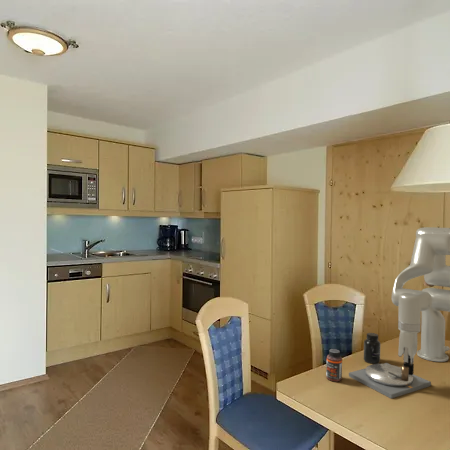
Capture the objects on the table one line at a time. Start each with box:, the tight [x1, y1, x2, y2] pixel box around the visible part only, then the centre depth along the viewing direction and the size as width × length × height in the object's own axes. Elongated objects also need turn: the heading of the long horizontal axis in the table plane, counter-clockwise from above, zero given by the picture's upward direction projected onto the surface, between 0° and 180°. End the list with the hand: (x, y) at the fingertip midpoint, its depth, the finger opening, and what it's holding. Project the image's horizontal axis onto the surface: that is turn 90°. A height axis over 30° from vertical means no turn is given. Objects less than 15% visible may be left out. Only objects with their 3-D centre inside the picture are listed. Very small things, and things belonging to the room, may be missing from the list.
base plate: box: [348, 362, 432, 399], centre depth 144 cm, size 22×20×2 cm
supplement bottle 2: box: [363, 332, 381, 364], centre depth 164 cm, size 7×7×12 cm
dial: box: [365, 363, 413, 387], centre depth 144 cm, size 17×17×6 cm
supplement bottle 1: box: [325, 348, 343, 383], centre depth 146 cm, size 6×6×11 cm
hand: (408, 373), depth 140 cm, fingers closed
